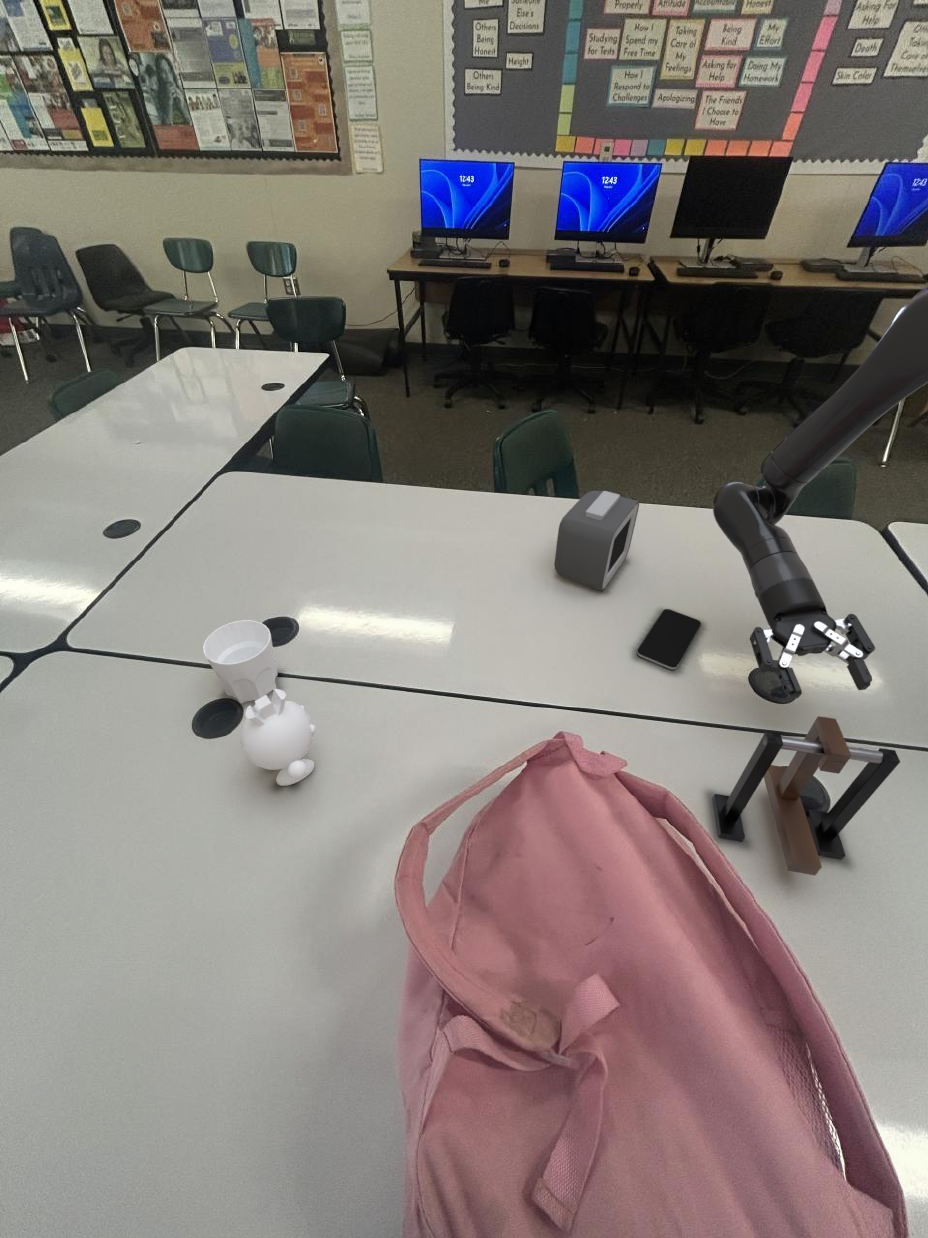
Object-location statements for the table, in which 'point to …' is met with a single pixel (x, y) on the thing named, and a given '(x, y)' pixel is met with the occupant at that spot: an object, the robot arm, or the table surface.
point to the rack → (820, 823)
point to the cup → (242, 659)
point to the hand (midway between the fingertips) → (831, 692)
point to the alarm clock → (595, 538)
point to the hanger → (790, 785)
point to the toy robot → (278, 737)
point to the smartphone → (669, 639)
